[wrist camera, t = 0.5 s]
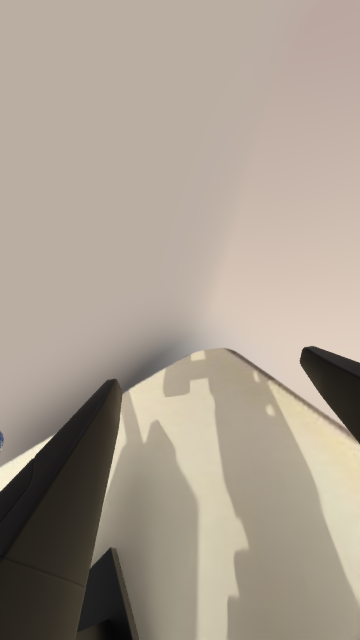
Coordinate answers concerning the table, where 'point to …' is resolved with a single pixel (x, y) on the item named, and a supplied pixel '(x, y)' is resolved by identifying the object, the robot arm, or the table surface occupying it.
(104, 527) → the table surface
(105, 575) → the black lever base
